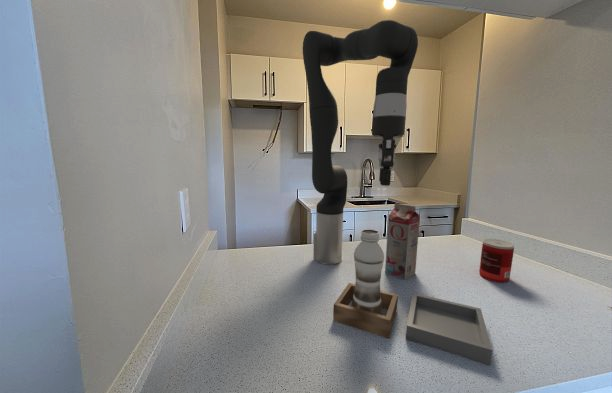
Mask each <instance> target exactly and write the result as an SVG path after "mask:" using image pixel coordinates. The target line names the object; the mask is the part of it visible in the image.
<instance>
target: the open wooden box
mask: <svg viewBox="0 0 612 393" xmlns="http://www.w3.org/2000/svg"><path fill="white" fill-rule="evenodd" d="M354 291H355V283H353V282H352V283H351V282H349V283H347V285H346V286H345V288H344V289H343V291H341V294H340V295H339V296H338V298H337V299H336V301H334V303H333V310H332V312H333V317H332V319H333V321H332V322H335V323H339V324H341V325H345V326H347V327H351V328H354V329H356V330H360V331H364V332H367V333H370V334H373V335H376V336H379V337H382V338H386V339H388V340H389V339H390V338H391V333H392V329H393V325H394V322H395V319H396V314H397V312H396V311H397V310H398V299H399V298H398V297H399V295H398V294H397V293H392V292H388V291H384V290H381V289H380V295H381V301H382V310H386V311H387V312H386V315H383V314H380V315H379V314H376V313H372V312H369V311H365V310H362V309H358V308H355V307H352V305H349V304H350V303H351V301H352V300H353V295H354Z"/></svg>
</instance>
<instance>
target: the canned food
mask: <svg viewBox="0 0 612 393" xmlns="http://www.w3.org/2000/svg"><path fill="white" fill-rule="evenodd" d="M514 249H515V245H514V243H512V242H510V241H506V240H504V239H503V240H502V239H496V238H486V239H482V244H481V254H480V263H479V275H480V276H481V277H482V278H483V279H485V280H488V281H490V282H494V283H507V282H508V281H509V280H510V278H511V272H512V266H513V259H514V253H515V250H514Z"/></svg>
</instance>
